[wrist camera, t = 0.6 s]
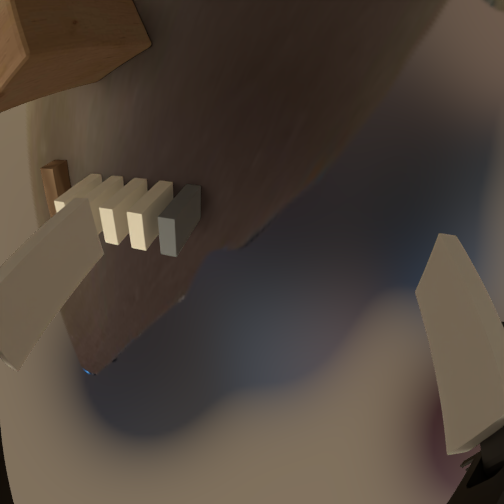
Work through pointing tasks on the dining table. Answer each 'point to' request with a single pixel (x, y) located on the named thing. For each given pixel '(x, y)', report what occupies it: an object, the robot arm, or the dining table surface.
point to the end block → (55, 182)
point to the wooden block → (63, 45)
